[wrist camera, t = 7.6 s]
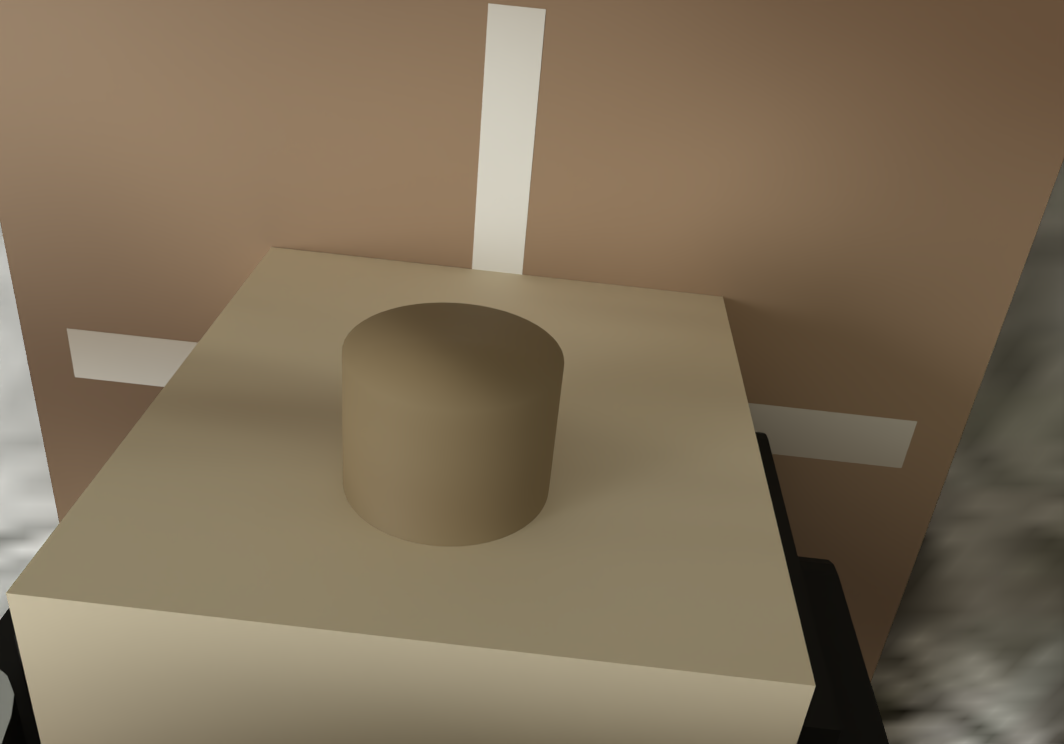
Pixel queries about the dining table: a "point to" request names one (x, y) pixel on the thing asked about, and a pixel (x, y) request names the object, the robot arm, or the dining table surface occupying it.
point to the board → (555, 200)
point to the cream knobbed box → (426, 527)
